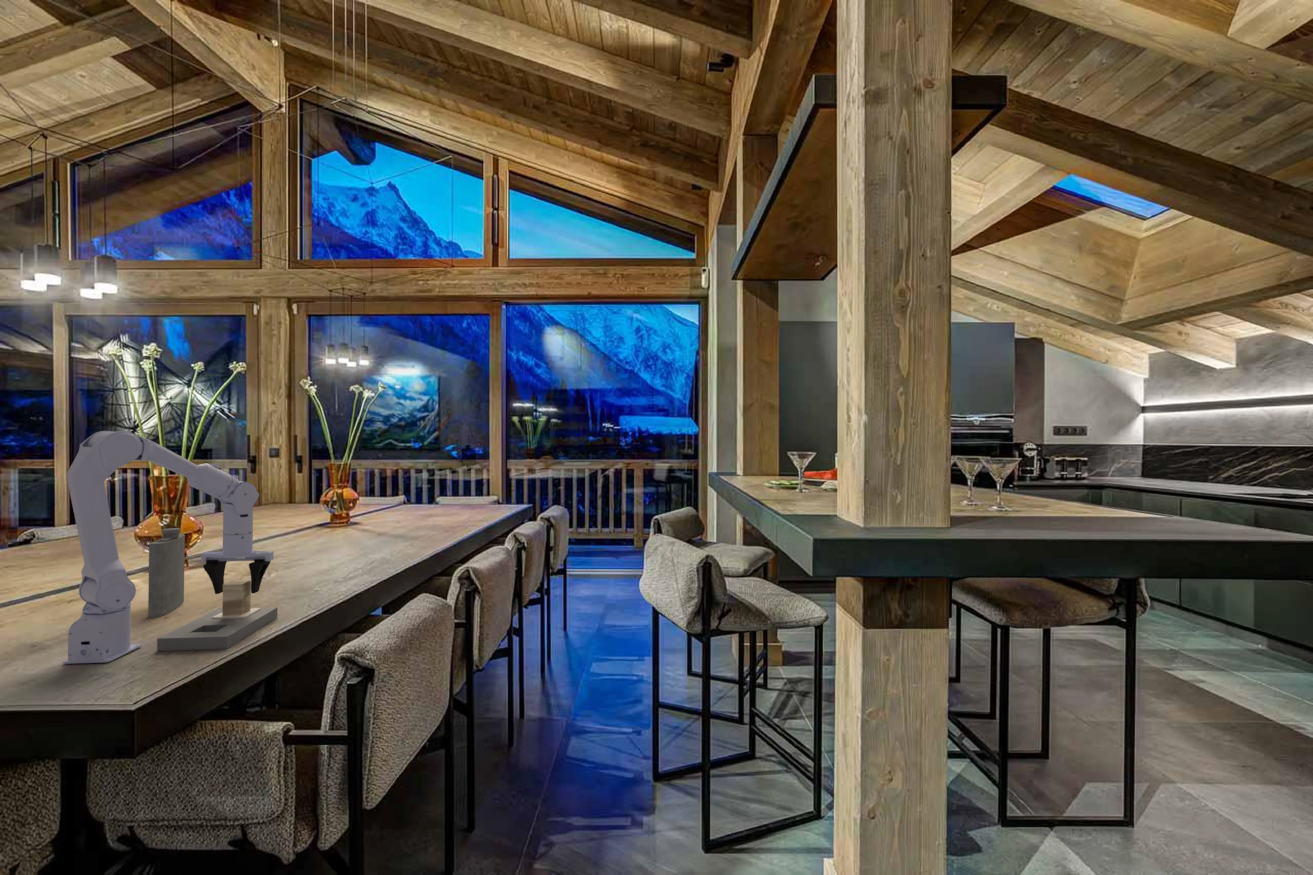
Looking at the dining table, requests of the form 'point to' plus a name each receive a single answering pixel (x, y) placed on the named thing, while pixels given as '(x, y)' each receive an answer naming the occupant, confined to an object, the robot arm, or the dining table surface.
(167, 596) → the hip flask
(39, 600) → the dining table surface
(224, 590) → the peg
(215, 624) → the pocket plate
